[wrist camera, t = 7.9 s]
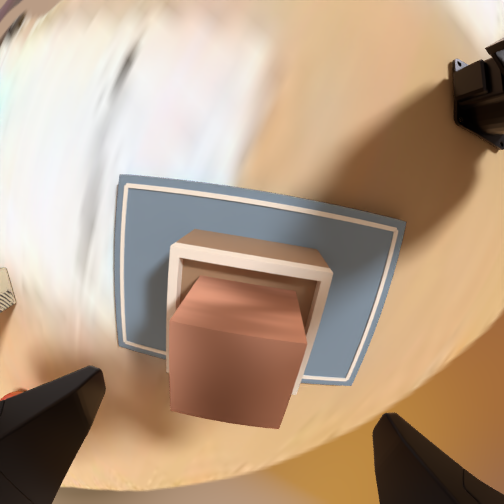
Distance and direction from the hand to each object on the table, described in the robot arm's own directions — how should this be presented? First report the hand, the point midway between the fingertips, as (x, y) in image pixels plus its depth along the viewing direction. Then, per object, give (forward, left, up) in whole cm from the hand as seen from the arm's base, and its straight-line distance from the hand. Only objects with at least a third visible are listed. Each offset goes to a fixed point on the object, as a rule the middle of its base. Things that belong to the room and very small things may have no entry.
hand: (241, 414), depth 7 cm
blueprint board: (+1, +1, -13) cm, 13 cm away
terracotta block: (+1, +1, -8) cm, 8 cm away
